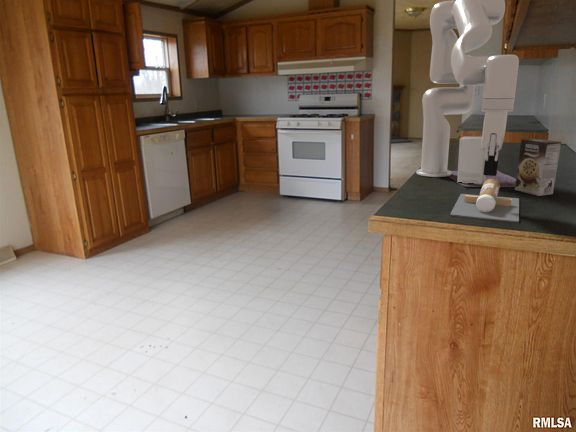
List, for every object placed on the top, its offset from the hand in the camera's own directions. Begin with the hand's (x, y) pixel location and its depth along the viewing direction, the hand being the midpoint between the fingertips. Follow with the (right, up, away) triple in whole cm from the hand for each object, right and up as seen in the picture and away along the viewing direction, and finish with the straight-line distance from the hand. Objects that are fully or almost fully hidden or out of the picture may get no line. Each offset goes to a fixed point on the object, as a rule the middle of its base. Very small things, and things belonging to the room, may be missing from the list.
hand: (489, 174), depth 118 cm
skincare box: (+9, 0, +33) cm, 34 cm away
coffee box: (+22, -4, +18) cm, 28 cm away
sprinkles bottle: (+3, -2, +6) cm, 8 cm away
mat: (0, -9, +3) cm, 9 cm away
